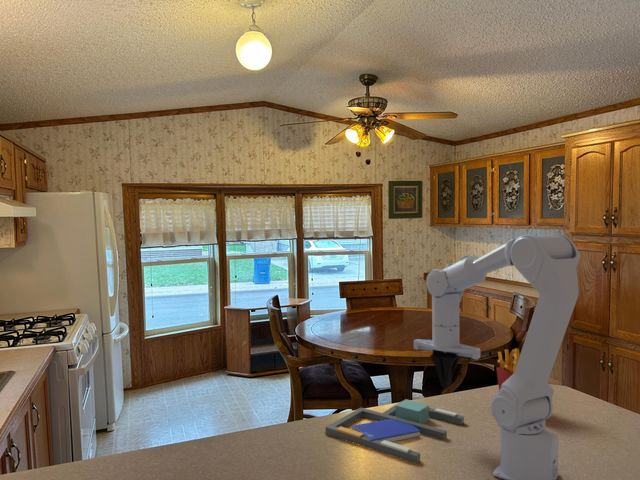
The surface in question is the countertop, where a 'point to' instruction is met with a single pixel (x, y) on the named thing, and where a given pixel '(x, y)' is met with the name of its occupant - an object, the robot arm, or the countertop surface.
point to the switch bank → (435, 415)
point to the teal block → (413, 411)
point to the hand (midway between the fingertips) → (446, 386)
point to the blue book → (387, 430)
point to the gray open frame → (384, 446)
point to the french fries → (507, 365)
